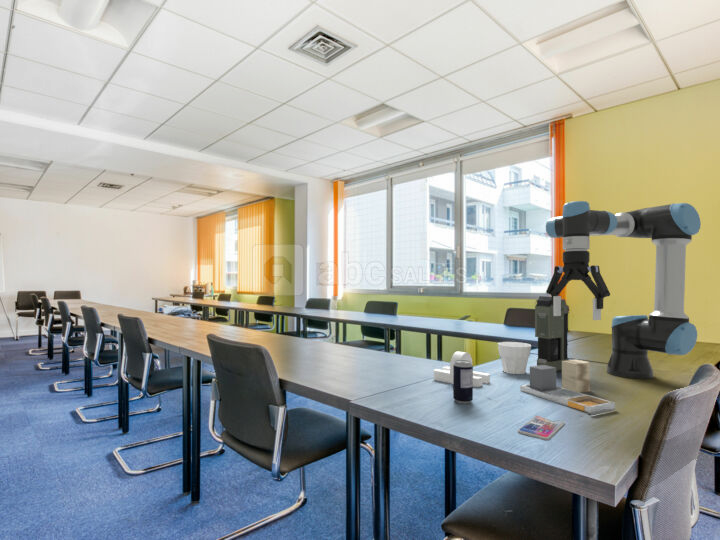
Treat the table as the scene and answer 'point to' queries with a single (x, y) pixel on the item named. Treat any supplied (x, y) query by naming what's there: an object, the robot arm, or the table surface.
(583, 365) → the panel block
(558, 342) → the device
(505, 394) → the table surface
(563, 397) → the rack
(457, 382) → the beverage can
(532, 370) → the blank block
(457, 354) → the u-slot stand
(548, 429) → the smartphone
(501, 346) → the cup
